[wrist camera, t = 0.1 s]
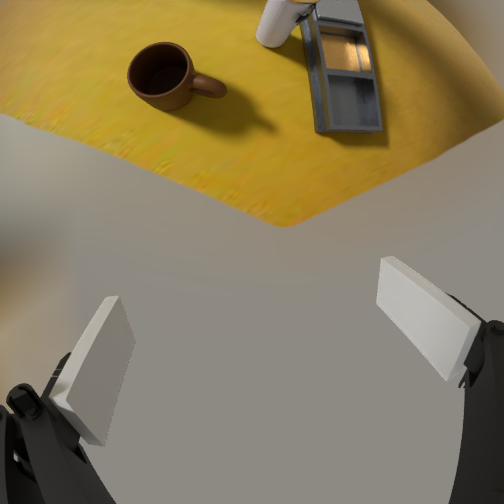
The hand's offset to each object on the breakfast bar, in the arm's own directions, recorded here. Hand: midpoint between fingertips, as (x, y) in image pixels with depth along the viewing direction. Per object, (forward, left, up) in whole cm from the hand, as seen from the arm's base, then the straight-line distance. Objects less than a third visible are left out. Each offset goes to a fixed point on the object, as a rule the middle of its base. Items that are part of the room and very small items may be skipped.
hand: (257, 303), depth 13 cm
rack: (-22, +19, -28) cm, 40 cm away
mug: (-17, -4, -28) cm, 33 cm away
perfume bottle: (-25, +9, -28) cm, 39 cm away
